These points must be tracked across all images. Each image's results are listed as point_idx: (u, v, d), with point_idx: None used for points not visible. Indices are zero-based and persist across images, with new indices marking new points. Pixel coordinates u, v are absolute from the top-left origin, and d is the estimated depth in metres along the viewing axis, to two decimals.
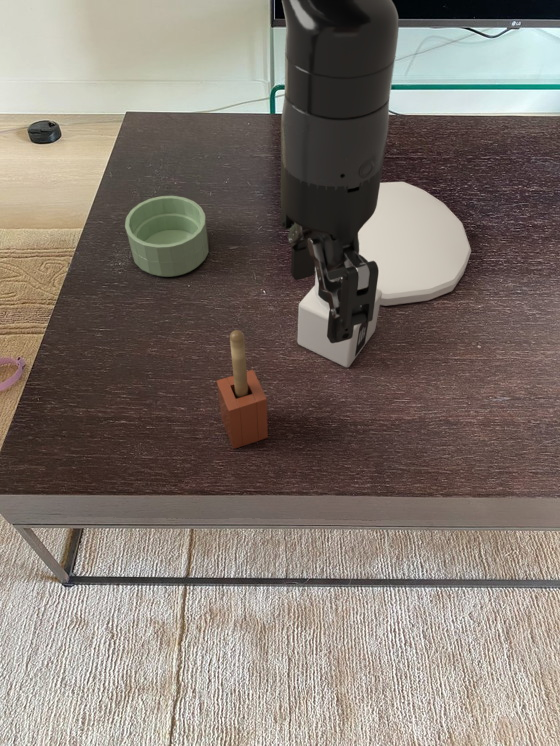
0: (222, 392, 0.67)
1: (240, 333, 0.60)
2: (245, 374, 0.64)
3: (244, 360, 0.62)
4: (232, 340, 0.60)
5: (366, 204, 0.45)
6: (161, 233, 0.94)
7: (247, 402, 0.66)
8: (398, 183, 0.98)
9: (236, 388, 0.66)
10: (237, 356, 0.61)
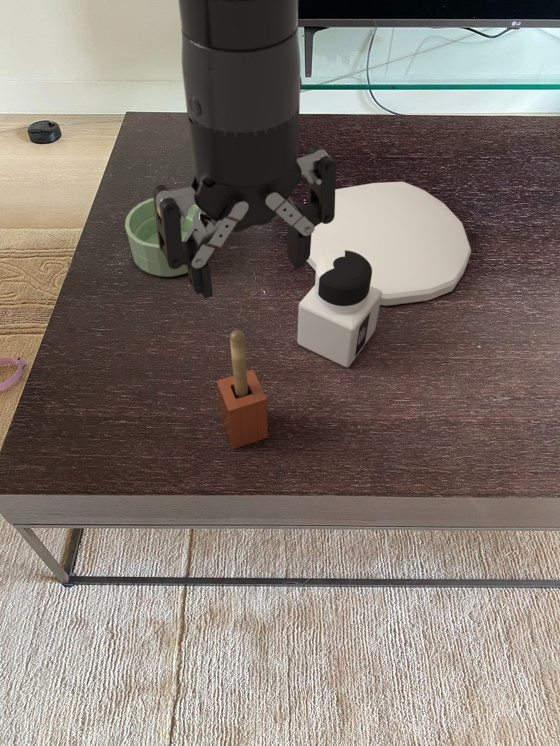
0: (222, 392, 0.67)
1: (240, 333, 0.60)
2: (245, 374, 0.64)
3: (244, 360, 0.62)
4: (232, 340, 0.60)
5: (203, 154, 0.41)
6: None
7: (247, 402, 0.66)
8: (398, 183, 0.98)
9: (236, 388, 0.66)
10: (237, 356, 0.61)
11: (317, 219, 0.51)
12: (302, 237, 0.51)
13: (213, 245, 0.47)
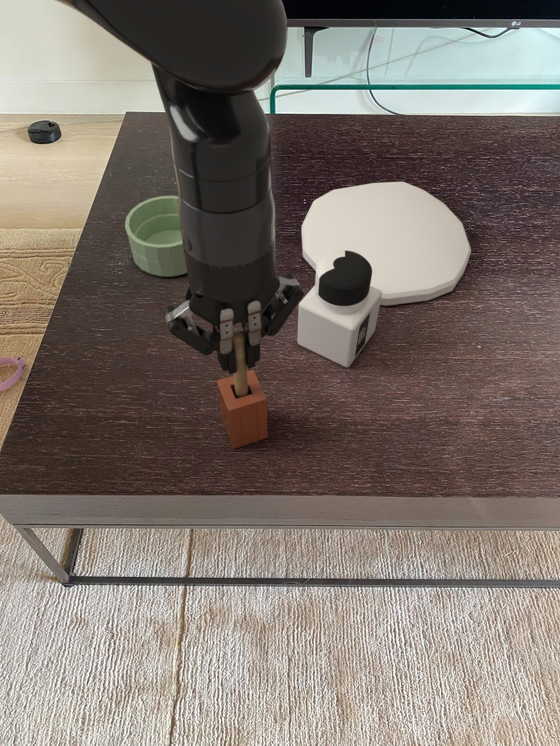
0: (222, 392, 0.67)
1: (240, 333, 0.60)
2: (245, 374, 0.64)
3: (244, 360, 0.62)
4: (232, 340, 0.60)
5: (194, 276, 0.50)
6: (161, 233, 0.94)
7: (247, 402, 0.66)
8: (398, 183, 0.98)
9: (236, 388, 0.66)
10: (237, 356, 0.61)
11: (264, 332, 0.60)
12: (251, 346, 0.60)
13: (226, 339, 0.57)
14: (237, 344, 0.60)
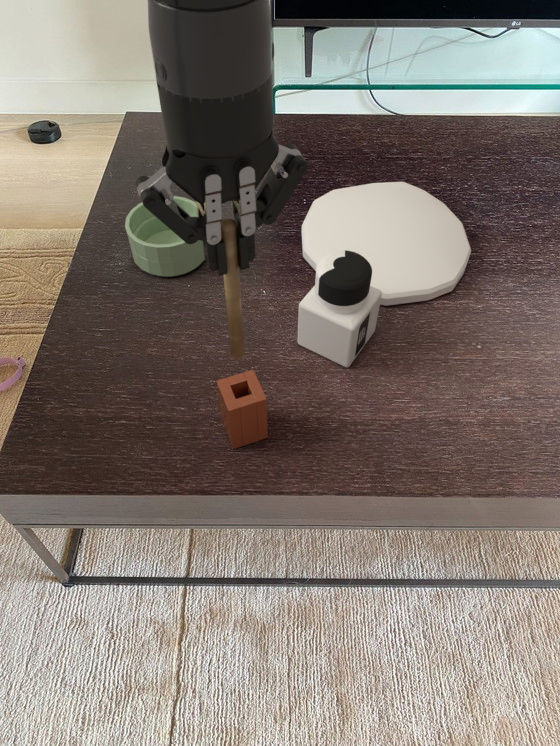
0: (222, 392, 0.67)
1: (231, 220, 0.49)
2: (238, 279, 0.54)
3: (236, 258, 0.52)
4: (221, 229, 0.49)
5: (171, 122, 0.40)
6: (161, 233, 0.94)
7: (247, 402, 0.66)
8: (398, 183, 0.98)
9: (227, 298, 0.56)
10: (228, 252, 0.51)
11: (259, 219, 0.50)
12: (243, 237, 0.50)
13: (213, 221, 0.47)
14: (227, 234, 0.50)
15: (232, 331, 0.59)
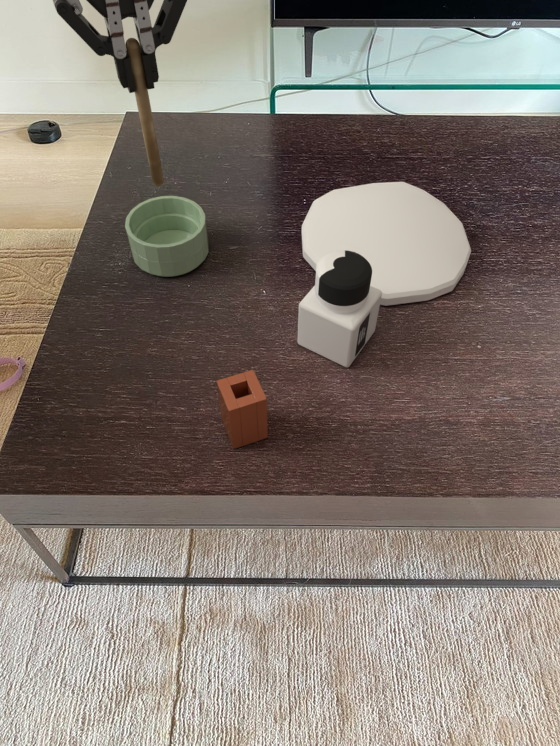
0: (222, 392, 0.67)
1: (134, 39, 0.62)
2: (147, 100, 0.66)
3: (143, 78, 0.65)
4: (127, 46, 0.62)
5: None
6: (161, 233, 0.94)
7: (247, 402, 0.66)
8: (398, 183, 0.98)
9: (141, 120, 0.68)
10: (135, 70, 0.64)
11: (157, 40, 0.62)
12: (145, 55, 0.62)
13: (117, 33, 0.59)
14: (132, 52, 0.62)
15: (149, 155, 0.72)
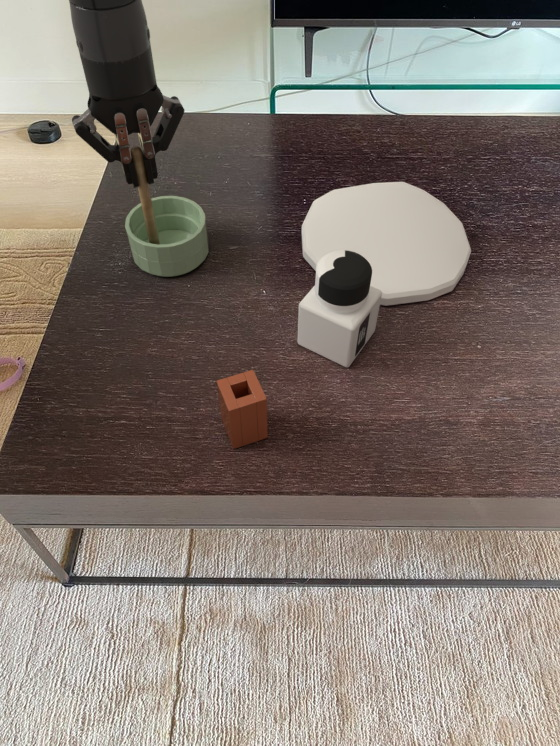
0: (222, 392, 0.67)
1: (138, 147, 0.75)
2: (148, 191, 0.80)
3: (145, 176, 0.78)
4: (132, 153, 0.75)
5: (89, 77, 0.66)
6: (161, 233, 0.94)
7: (247, 402, 0.66)
8: (398, 183, 0.98)
9: (142, 207, 0.82)
10: (138, 170, 0.77)
11: (157, 147, 0.75)
12: (147, 159, 0.76)
13: (124, 146, 0.73)
14: (136, 157, 0.76)
15: (149, 233, 0.85)
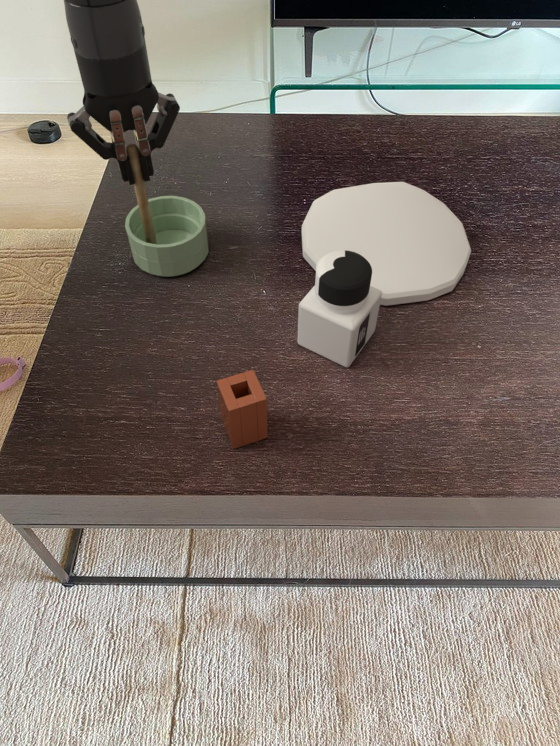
0: (222, 392, 0.67)
1: (134, 145, 0.75)
2: (144, 189, 0.80)
3: (141, 173, 0.78)
4: (127, 150, 0.75)
5: (83, 75, 0.66)
6: (161, 233, 0.94)
7: (247, 402, 0.66)
8: (398, 183, 0.98)
9: (139, 204, 0.82)
10: (134, 168, 0.77)
11: (152, 145, 0.75)
12: (143, 157, 0.76)
13: (119, 143, 0.73)
14: (131, 154, 0.75)
15: (146, 231, 0.85)
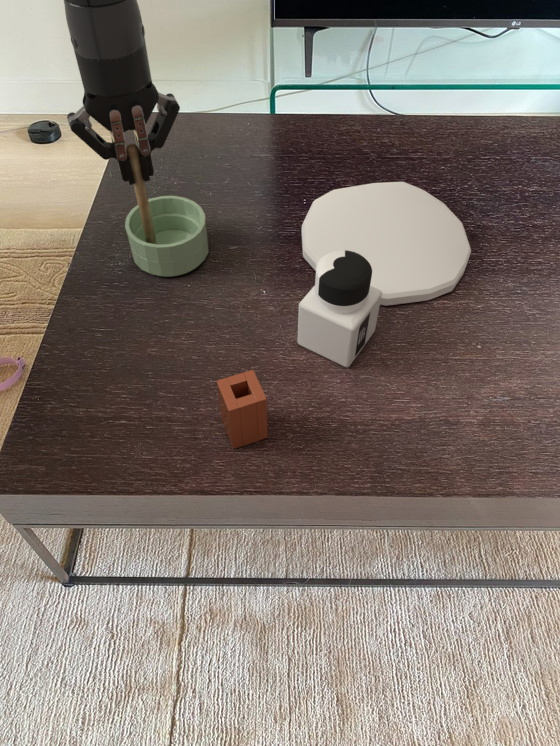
0: (222, 392, 0.67)
1: (134, 145, 0.75)
2: (144, 189, 0.80)
3: (141, 173, 0.78)
4: (127, 150, 0.75)
5: (83, 74, 0.66)
6: (161, 233, 0.94)
7: (247, 402, 0.66)
8: (398, 183, 0.98)
9: (139, 204, 0.82)
10: (134, 168, 0.77)
11: (152, 145, 0.75)
12: (143, 157, 0.76)
13: (119, 143, 0.73)
14: (131, 154, 0.75)
15: (146, 230, 0.85)
